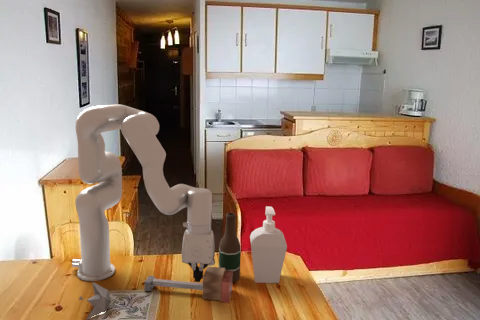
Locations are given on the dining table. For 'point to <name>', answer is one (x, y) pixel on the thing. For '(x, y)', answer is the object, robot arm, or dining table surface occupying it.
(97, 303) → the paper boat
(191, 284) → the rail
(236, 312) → the dining table surface
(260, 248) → the soap bottle
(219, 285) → the block
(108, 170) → the robot arm
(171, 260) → the dining table surface
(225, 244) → the beer bottle
